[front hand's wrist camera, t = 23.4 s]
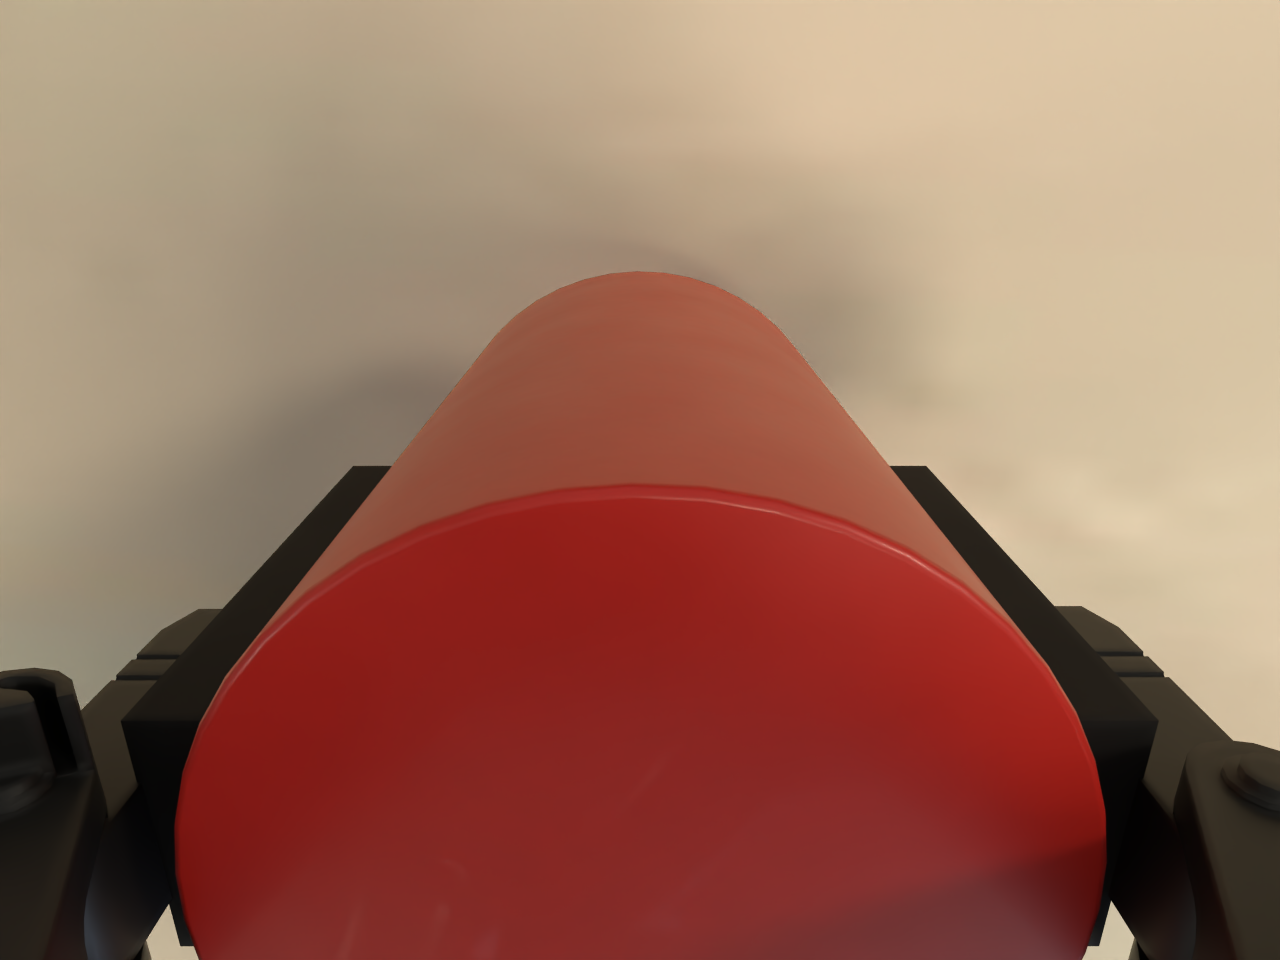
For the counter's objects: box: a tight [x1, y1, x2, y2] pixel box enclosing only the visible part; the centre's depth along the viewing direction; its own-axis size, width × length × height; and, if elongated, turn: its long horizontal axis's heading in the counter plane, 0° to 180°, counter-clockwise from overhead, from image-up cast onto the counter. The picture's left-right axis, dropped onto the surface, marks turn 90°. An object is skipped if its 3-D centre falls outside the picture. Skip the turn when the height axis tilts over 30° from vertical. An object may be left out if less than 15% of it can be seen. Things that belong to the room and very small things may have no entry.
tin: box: [174, 271, 1107, 960], centre depth 12 cm, size 8×8×11 cm
